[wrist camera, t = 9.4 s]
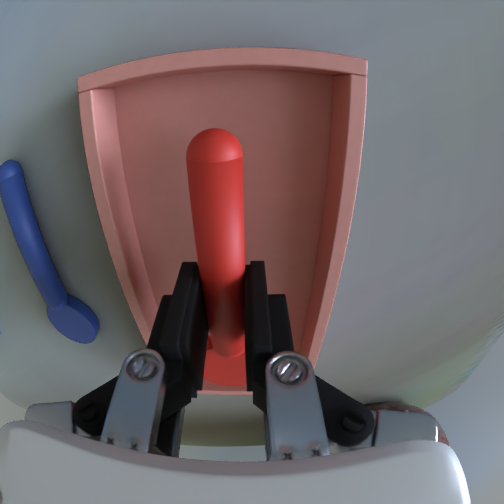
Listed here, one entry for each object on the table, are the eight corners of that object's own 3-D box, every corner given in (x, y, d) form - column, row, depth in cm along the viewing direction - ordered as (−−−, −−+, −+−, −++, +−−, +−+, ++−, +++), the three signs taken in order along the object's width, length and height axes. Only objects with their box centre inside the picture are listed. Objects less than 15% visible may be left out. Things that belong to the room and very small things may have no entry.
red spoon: (153, 130, 7) (134, 139, 6) (282, 124, 8) (290, 131, 6) (201, 373, 15) (198, 396, 13) (269, 373, 15) (270, 396, 13)
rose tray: (106, 76, 8) (76, 77, 6) (343, 64, 8) (368, 59, 6) (174, 365, 18) (169, 391, 16) (302, 364, 18) (306, 392, 16)
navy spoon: (-4, 163, 9) (-22, 174, 8) (38, 147, 9) (18, 158, 8) (66, 331, 16) (58, 347, 15) (107, 337, 16) (101, 354, 15)
